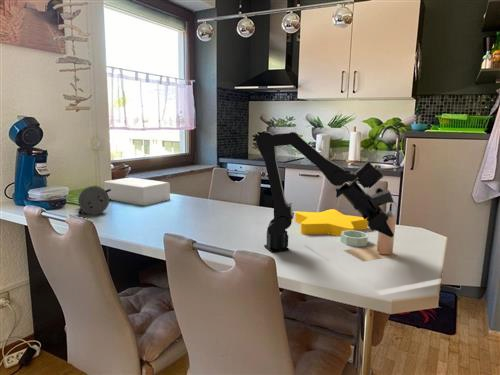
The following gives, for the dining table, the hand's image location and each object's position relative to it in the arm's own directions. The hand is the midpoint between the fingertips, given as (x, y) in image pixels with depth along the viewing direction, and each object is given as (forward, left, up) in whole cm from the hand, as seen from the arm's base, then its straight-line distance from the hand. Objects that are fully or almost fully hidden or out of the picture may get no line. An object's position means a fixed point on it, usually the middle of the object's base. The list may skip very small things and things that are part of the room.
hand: (390, 233), depth 114 cm
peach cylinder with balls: (-1, +1, -6) cm, 6 cm away
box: (-69, +115, -8) cm, 134 cm away
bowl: (-3, +14, -8) cm, 16 cm away
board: (-5, +3, -8) cm, 10 cm away
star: (+1, +34, -8) cm, 35 cm away
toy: (-89, +91, -8) cm, 128 cm away
